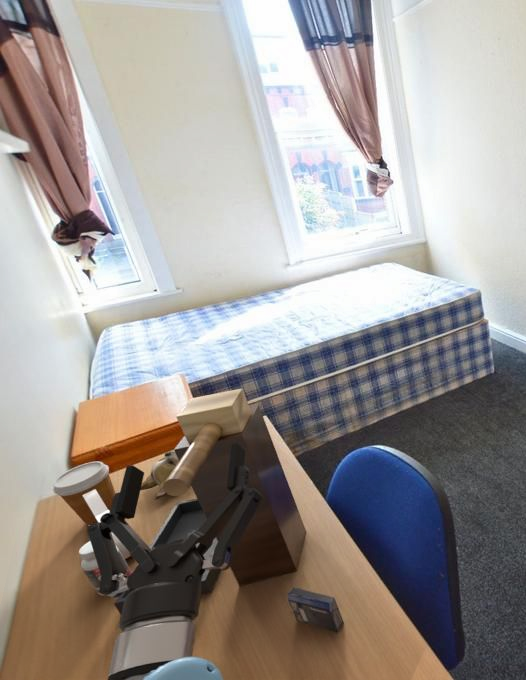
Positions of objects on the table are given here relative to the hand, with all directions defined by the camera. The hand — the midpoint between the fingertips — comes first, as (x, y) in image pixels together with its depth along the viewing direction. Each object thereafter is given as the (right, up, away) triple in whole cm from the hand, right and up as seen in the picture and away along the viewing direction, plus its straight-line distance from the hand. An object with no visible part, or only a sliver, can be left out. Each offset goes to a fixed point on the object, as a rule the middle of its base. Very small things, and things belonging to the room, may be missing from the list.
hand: (188, 458), depth 67 cm
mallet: (0, 0, +4) cm, 4 cm away
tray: (-17, -25, +27) cm, 41 cm away
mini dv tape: (+15, -29, +9) cm, 34 cm away
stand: (+1, -25, +23) cm, 34 cm away
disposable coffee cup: (-46, -23, +39) cm, 65 cm away
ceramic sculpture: (-36, -18, +49) cm, 63 cm away
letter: (-36, -26, +32) cm, 55 cm away
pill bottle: (-28, -29, +21) cm, 46 cm away
